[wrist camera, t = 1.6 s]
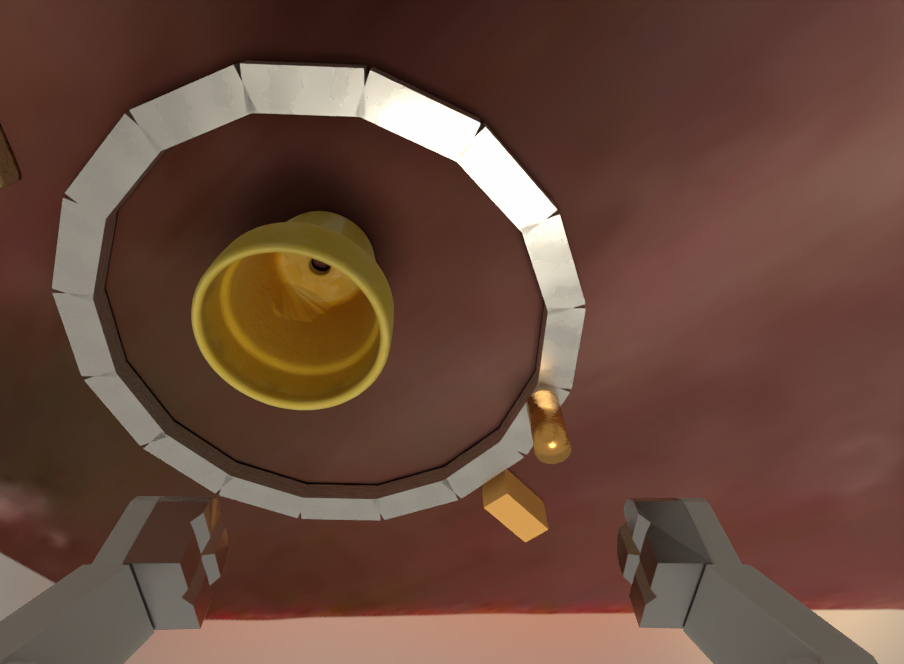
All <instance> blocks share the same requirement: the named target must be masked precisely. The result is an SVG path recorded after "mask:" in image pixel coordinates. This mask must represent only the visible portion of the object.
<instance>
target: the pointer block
mask: <svg viewBox="0 0 904 664" xmlns="http://www.w3.org/2000/svg"><path fill="white" fill-rule="evenodd" d="M482 491H483V505H484V508H485V509H486V510H487V511H488V512H489V513H491V514H492V515H493V516H494V517H495V518H497V519H498V520H499V521H500V522H501V523H503V524H504V525H505V526H506V527H507V528H509V529H510V530H511V531H512V532H513V533H515V534H516V535H517V536H518V537H519V538H521V539H522V540H523V541H524V542H527V541H529V540H530V539H532V538H534V537H536V536H538V535H539V534H541V533H543V532H545V531H547V530H548V524H547V519H546V513H545V508H544V502H543V501H542V500H541V499H540V498H539V497H538V496H537V495H535V494H534V493H533V492H532V491H531V490H530V489H529V488H528V487H526V486H525V485H524V484H523V483H522V482H521V481H520V480H519V479H518V478H516V477H515V476H514V475H513V474H512V473H511V472H510V471H509V470H508V469H506V470H504V471H503V472H501V473H499V474H498V475H496V476H495V477H493V478H492V479H490V480H489V481H487V482H486V483H484V484H483V485H482Z"/></svg>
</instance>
